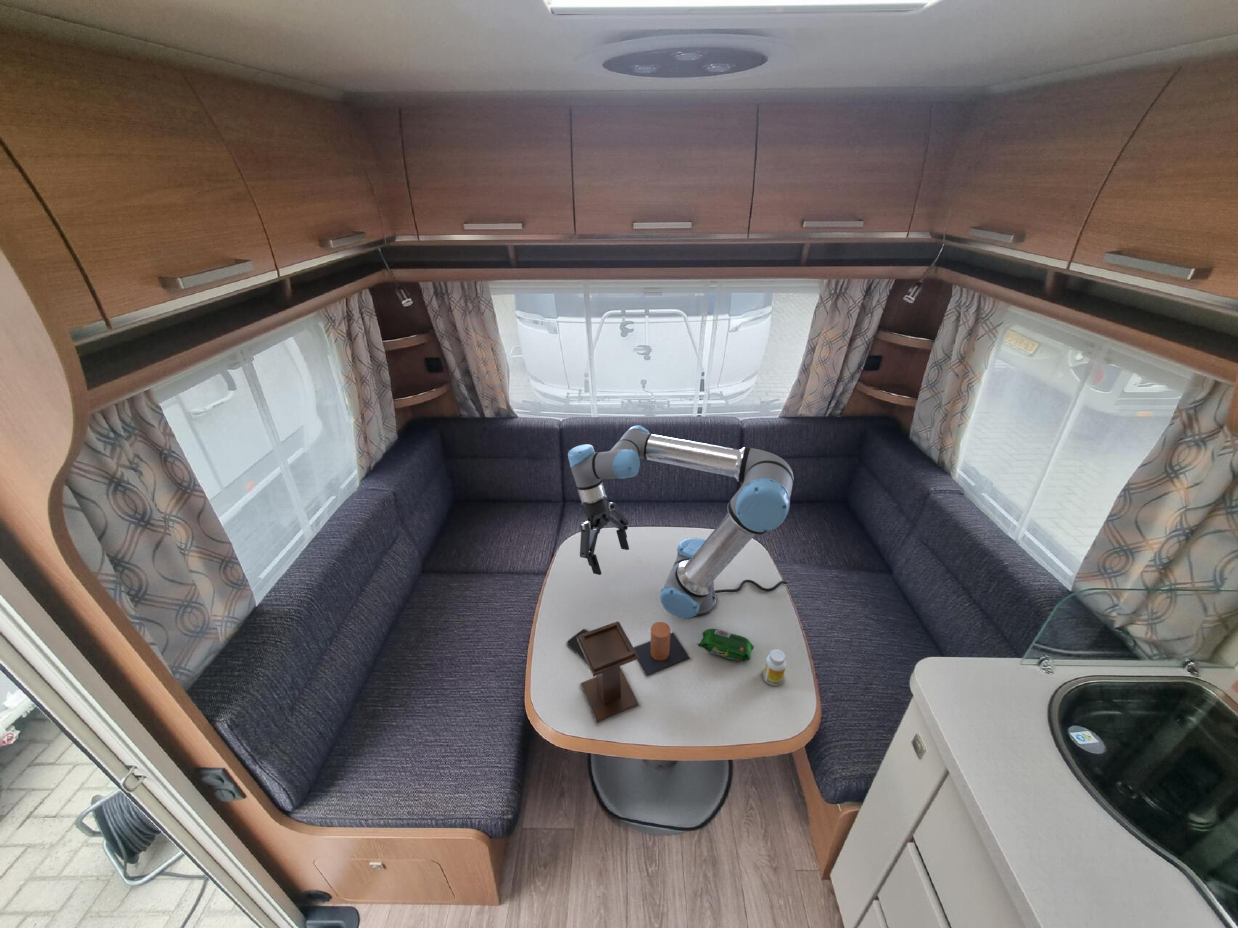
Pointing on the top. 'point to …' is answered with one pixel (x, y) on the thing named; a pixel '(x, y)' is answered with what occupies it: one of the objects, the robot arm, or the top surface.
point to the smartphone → (577, 644)
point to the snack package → (726, 645)
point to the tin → (660, 641)
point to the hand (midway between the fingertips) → (611, 560)
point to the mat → (653, 665)
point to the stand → (607, 670)
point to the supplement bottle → (774, 667)
